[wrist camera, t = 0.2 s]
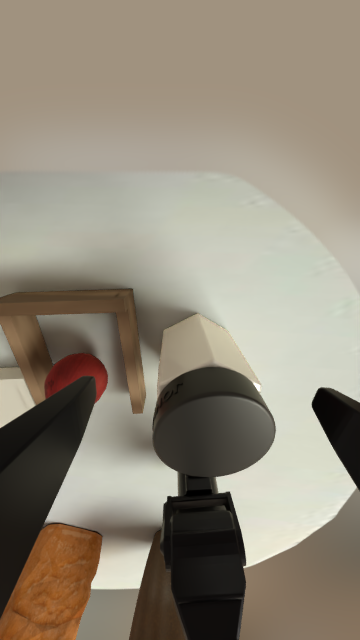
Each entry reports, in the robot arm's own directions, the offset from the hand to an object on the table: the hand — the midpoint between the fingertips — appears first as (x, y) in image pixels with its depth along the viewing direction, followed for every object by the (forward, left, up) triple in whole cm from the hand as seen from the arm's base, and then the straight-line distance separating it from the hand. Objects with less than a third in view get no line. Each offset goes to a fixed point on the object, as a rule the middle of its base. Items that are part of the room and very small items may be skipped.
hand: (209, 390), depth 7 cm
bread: (-60, +31, -15) cm, 69 cm away
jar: (-6, -1, -15) cm, 16 cm away
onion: (-8, +12, -15) cm, 20 cm away
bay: (-6, +12, -14) cm, 20 cm away
